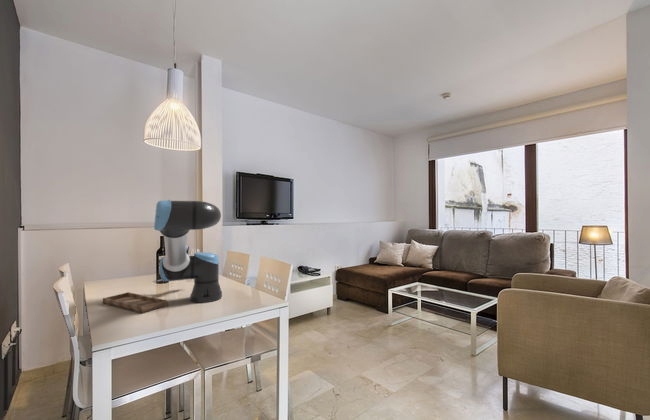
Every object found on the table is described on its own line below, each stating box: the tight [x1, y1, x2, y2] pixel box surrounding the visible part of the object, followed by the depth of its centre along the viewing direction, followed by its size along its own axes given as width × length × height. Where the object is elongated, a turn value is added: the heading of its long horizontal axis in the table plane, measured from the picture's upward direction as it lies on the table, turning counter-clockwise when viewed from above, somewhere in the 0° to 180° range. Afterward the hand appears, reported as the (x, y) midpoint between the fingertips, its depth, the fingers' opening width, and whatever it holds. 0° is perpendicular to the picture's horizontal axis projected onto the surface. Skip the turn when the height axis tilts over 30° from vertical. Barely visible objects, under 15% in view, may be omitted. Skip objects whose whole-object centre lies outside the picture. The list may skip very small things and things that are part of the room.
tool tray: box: [102, 291, 168, 314], centre depth 142 cm, size 30×12×2 cm, turn 64°
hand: (178, 277), depth 162 cm, fingers closed on screwdriver, 4 cm apart
